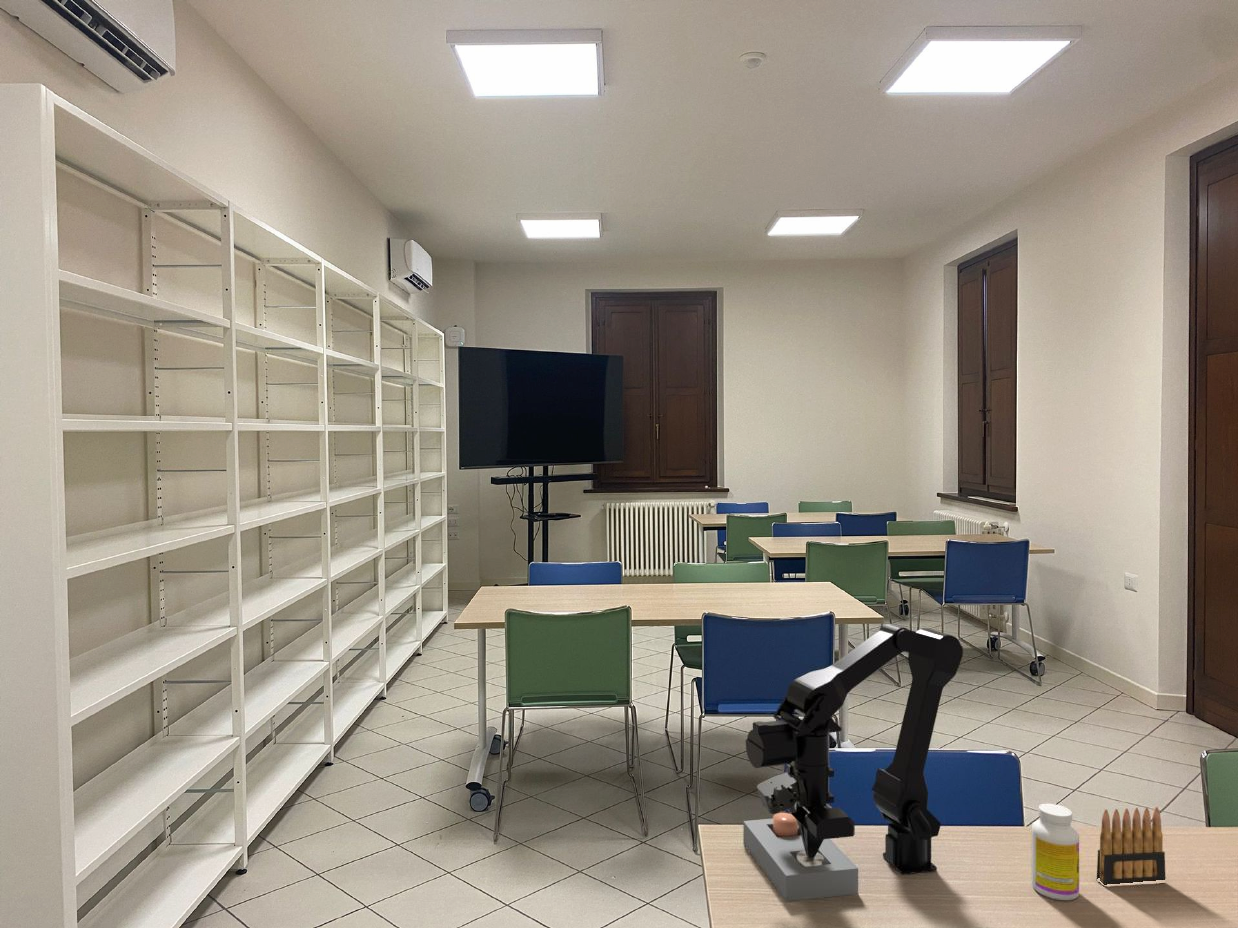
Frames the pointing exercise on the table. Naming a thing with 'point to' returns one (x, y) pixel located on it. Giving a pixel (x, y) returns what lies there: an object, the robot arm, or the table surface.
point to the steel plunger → (809, 859)
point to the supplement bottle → (1055, 853)
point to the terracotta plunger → (785, 825)
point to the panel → (789, 874)
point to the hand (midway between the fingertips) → (810, 856)
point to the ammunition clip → (1131, 848)
